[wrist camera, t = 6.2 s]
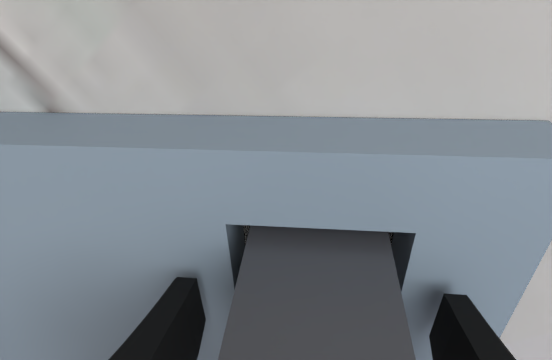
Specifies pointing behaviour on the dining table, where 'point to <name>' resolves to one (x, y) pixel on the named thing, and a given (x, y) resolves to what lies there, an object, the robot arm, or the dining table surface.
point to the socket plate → (253, 214)
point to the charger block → (317, 298)
